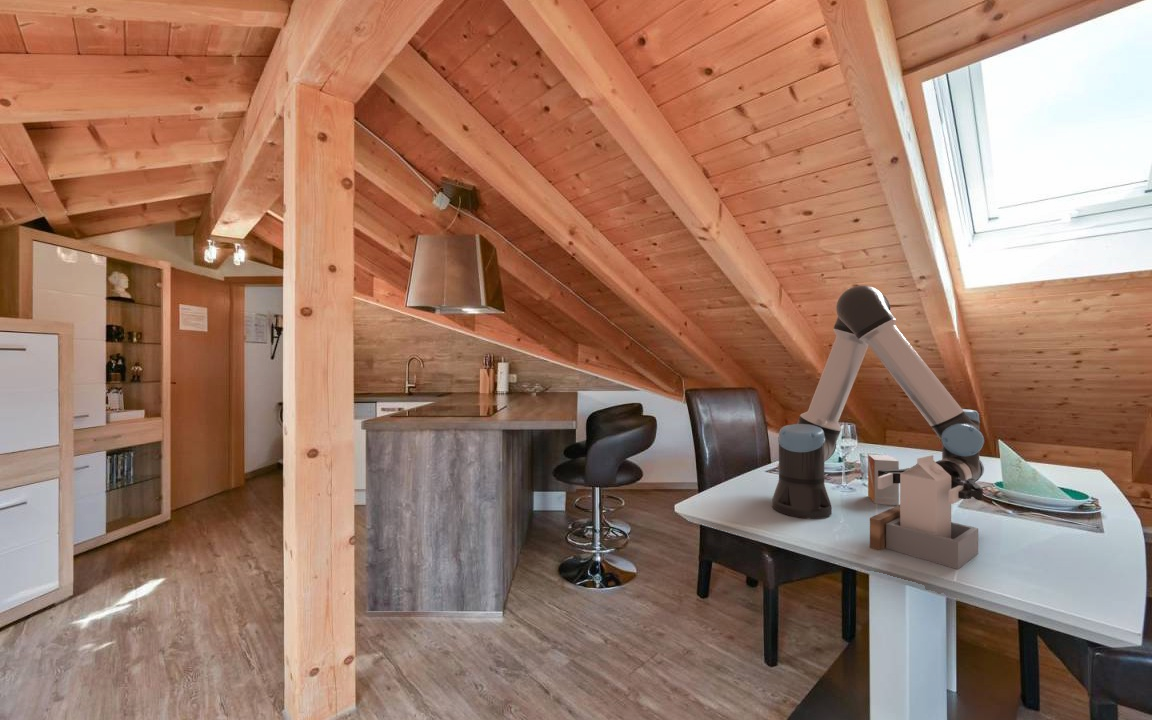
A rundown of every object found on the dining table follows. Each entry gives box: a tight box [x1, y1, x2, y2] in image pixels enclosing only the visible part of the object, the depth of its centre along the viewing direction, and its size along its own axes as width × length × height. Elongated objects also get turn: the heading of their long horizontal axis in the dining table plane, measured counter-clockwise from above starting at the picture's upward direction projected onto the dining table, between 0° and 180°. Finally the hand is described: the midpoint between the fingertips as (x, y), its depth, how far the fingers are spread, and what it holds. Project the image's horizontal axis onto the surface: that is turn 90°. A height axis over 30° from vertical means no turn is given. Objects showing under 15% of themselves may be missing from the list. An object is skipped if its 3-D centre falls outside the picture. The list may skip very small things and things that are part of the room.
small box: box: [867, 454, 900, 506], centre depth 142 cm, size 8×6×13 cm
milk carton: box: [899, 455, 952, 539], centre depth 106 cm, size 7×7×19 cm
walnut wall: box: [869, 504, 900, 552], centre depth 111 cm, size 18×2×7 cm, turn 126°
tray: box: [885, 517, 979, 570], centre depth 105 cm, size 13×13×6 cm
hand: (913, 489), depth 105 cm, fingers open, 13 cm apart
